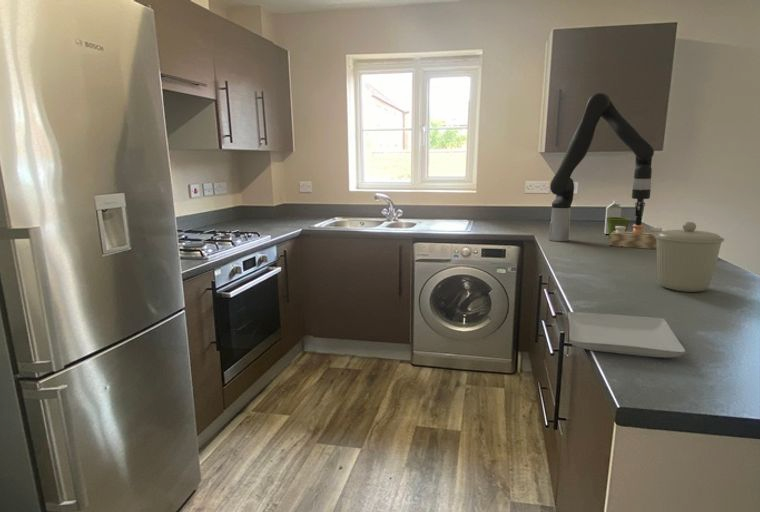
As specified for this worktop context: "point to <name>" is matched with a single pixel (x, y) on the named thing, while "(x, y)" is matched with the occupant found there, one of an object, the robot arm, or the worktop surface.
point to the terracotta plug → (638, 229)
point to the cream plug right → (655, 230)
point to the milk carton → (612, 213)
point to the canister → (686, 258)
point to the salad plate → (623, 334)
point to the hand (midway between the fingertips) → (638, 224)
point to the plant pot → (617, 223)
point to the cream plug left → (620, 229)
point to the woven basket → (633, 240)
